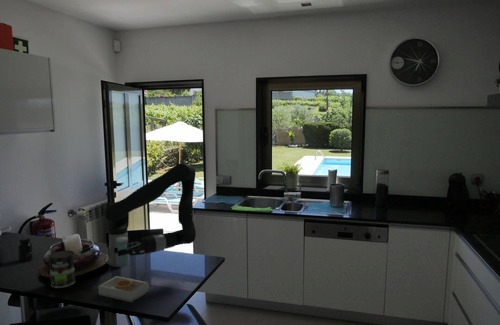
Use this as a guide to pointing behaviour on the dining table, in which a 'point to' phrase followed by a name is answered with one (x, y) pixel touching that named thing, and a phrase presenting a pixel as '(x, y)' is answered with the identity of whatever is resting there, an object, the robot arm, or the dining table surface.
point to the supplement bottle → (25, 250)
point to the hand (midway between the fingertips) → (116, 252)
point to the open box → (123, 288)
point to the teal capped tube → (121, 246)
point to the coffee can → (62, 269)
